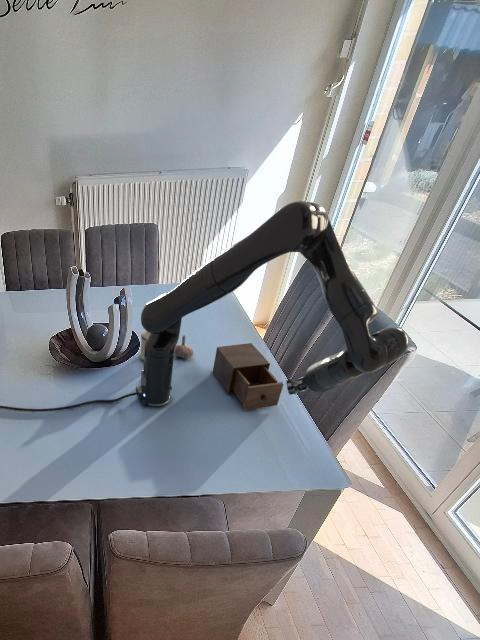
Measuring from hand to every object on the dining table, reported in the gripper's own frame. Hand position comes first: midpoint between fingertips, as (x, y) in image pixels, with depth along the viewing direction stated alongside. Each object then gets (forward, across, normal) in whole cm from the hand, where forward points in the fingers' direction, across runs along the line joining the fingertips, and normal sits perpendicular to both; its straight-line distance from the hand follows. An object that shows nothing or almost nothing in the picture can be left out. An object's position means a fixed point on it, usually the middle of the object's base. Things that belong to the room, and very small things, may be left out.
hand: (291, 390), depth 128 cm
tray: (+22, 0, -4) cm, 22 cm away
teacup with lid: (+48, +23, -28) cm, 60 cm away
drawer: (+23, 0, -4) cm, 23 cm away
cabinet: (+32, 0, -12) cm, 34 cm away
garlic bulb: (+47, +13, -26) cm, 55 cm away
